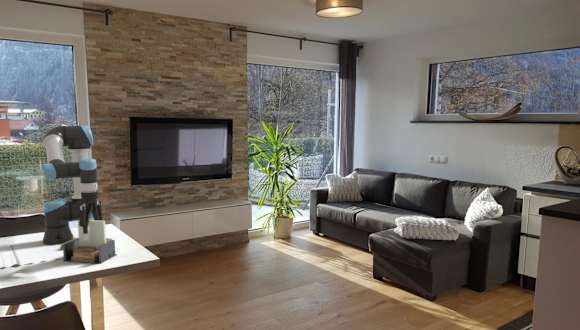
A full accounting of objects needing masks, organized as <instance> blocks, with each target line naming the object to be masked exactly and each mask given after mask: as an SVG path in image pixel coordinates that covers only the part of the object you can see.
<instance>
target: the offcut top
mask: <svg viewBox="0 0 580 330" xmlns="http://www.w3.org/2000/svg"><path fill="white" fill-rule="evenodd" d="M95 251H96V247H90V246H78V247H76V248H74V249H73V253H85V254H91V253H93V252H95Z"/></svg>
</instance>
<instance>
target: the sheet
mask: <svg viewBox="0 0 580 330" xmlns="http://www.w3.org/2000/svg"><path fill="white" fill-rule="evenodd" d="M88 226H89V228H90V240H84V233H83V227H81V226H79V220H78V221H77V227H78V231H77V232H78V238H79V246H90V247H96V251H99V248H98V247H99V246H101V245H103V244H105V243H106V238H107V233H106V232H107V231H106V220H102V221H97V220H94V219H89V223H88Z"/></svg>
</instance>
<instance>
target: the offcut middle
mask: <svg viewBox="0 0 580 330" xmlns="http://www.w3.org/2000/svg"><path fill="white" fill-rule="evenodd" d="M98 256H99V251H95V252H93V253H91V254H85V253H73V257H82V258H96V257H98Z"/></svg>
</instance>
